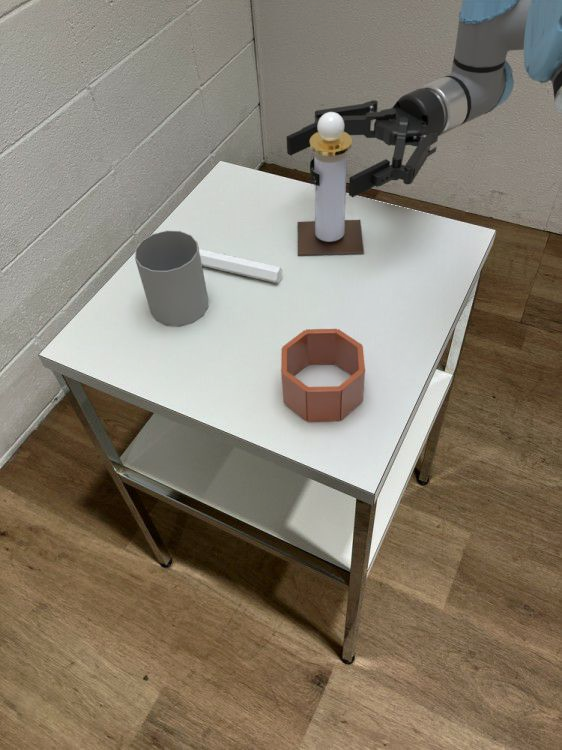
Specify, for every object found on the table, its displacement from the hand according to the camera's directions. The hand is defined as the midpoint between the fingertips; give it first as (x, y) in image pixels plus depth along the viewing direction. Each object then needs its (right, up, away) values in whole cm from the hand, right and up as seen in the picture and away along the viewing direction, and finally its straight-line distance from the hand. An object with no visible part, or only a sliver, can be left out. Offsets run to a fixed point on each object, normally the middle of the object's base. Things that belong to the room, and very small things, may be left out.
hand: (318, 166), depth 88 cm
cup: (-20, -19, +4) cm, 28 cm away
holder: (0, -31, -8) cm, 32 cm away
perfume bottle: (+2, -7, +11) cm, 14 cm away
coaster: (+2, -8, +11) cm, 14 cm away
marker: (-13, -13, +8) cm, 20 cm away
